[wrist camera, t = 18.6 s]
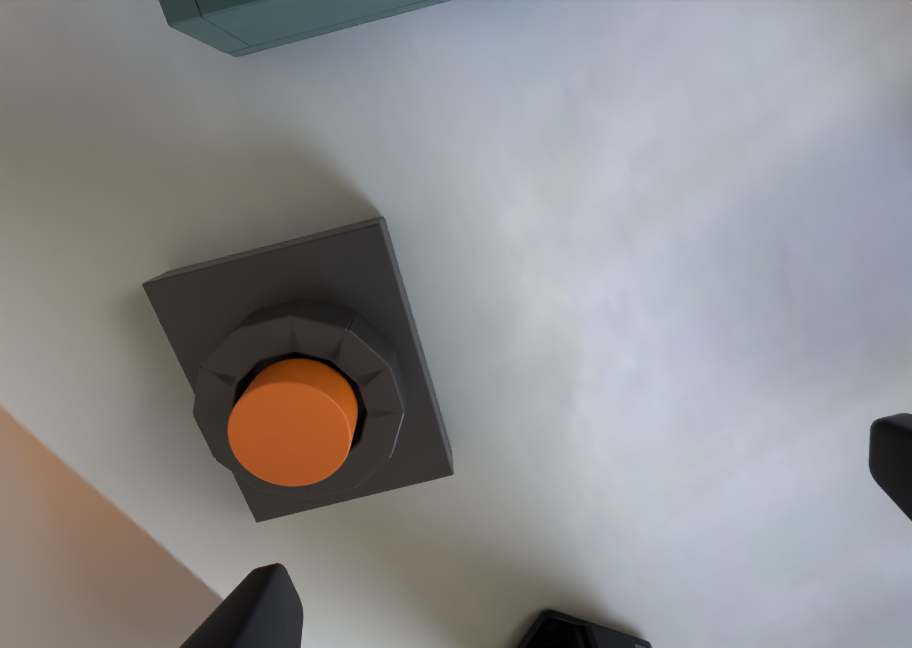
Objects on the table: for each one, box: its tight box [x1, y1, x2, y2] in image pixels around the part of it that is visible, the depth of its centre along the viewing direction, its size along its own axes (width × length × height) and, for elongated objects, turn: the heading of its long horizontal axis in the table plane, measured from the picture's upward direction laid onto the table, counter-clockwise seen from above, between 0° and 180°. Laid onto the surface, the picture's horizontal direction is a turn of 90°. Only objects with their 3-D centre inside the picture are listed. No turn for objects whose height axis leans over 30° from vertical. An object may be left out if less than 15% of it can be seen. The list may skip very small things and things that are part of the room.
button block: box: [143, 217, 454, 522], centre depth 18 cm, size 10×8×4 cm
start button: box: [227, 358, 358, 487], centre depth 15 cm, size 4×4×2 cm
